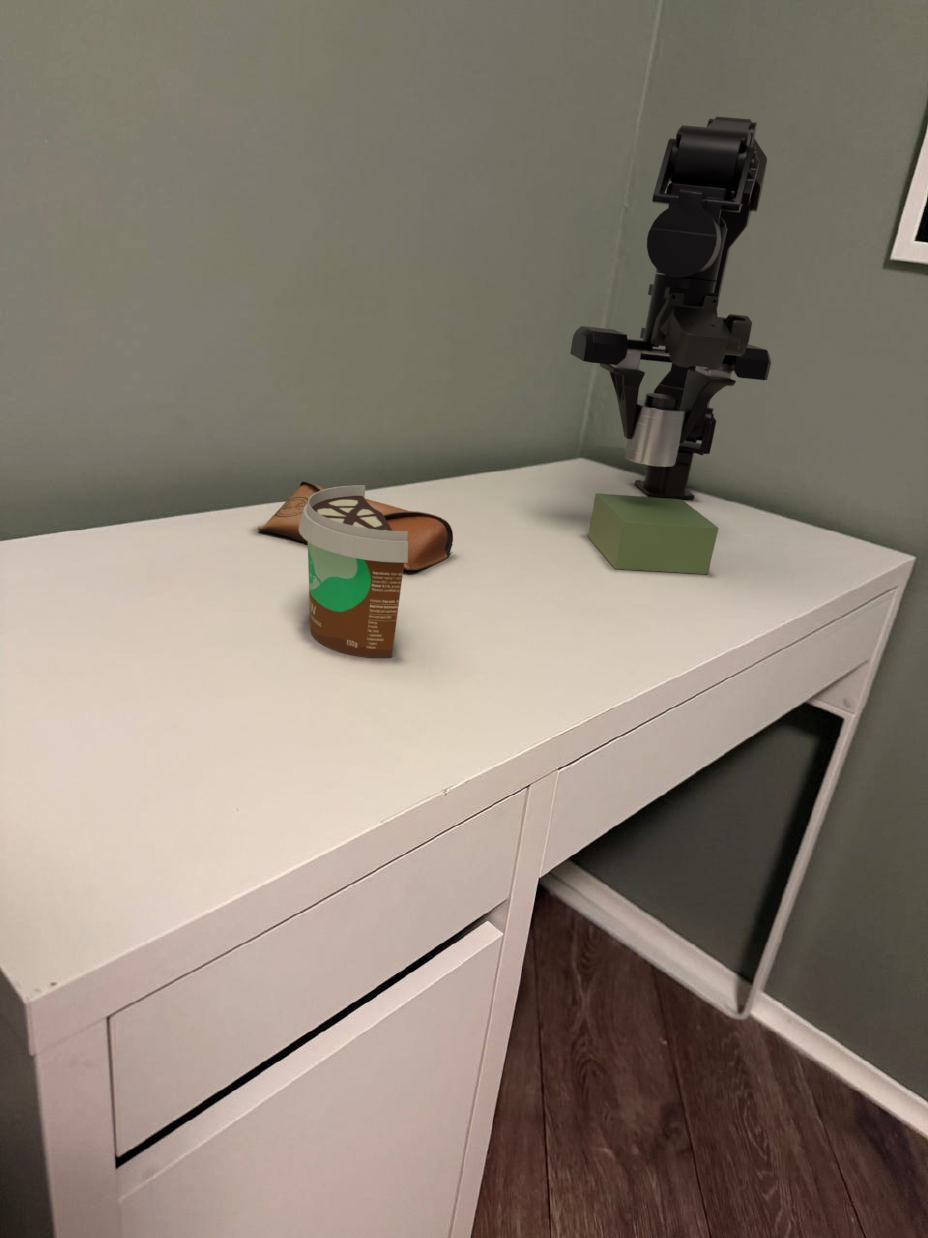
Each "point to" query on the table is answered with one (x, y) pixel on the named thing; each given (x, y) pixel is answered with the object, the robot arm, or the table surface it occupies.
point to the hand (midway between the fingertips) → (653, 440)
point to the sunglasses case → (424, 530)
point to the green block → (652, 534)
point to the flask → (656, 431)
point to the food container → (352, 572)
